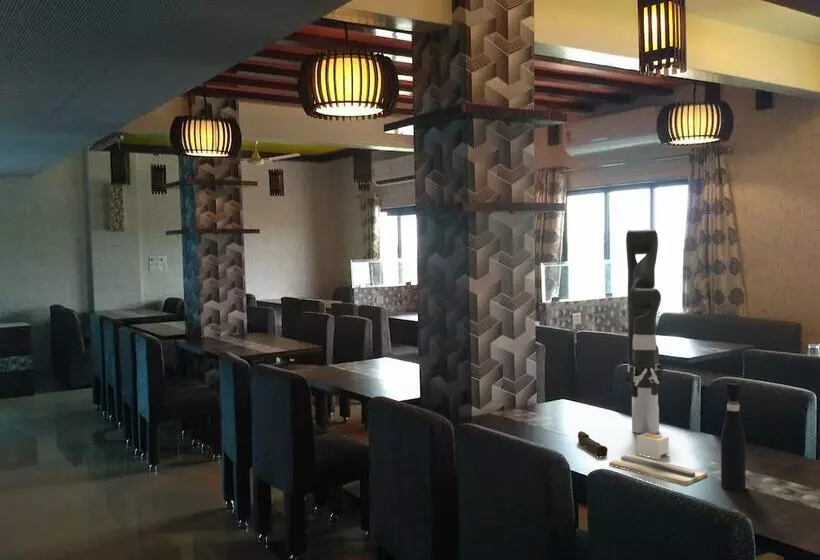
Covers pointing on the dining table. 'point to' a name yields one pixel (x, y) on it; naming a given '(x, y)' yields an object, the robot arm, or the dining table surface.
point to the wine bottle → (733, 443)
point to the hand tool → (591, 444)
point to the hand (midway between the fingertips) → (644, 396)
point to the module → (652, 445)
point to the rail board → (659, 469)
